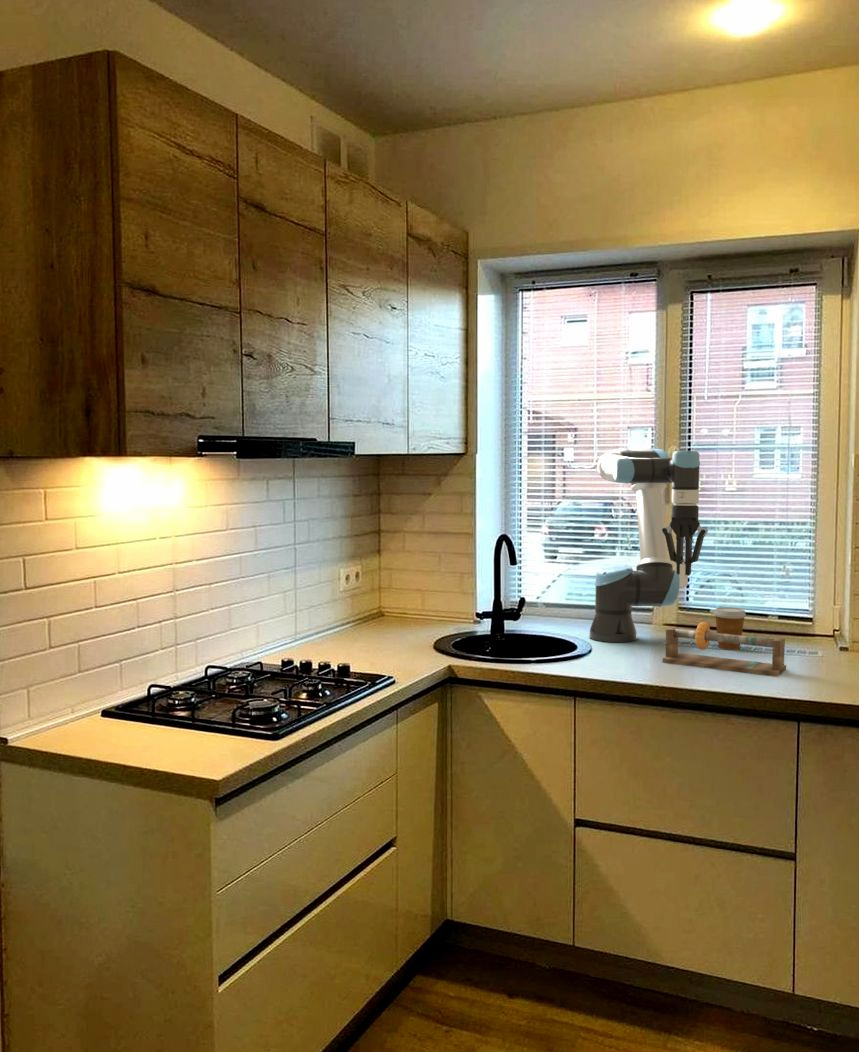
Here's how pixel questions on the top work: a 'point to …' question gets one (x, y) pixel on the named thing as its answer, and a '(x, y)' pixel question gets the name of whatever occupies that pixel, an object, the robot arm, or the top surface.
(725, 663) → the pipe stand
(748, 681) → the top surface
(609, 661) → the top surface
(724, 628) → the disposable coffee cup
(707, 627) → the o-ring
